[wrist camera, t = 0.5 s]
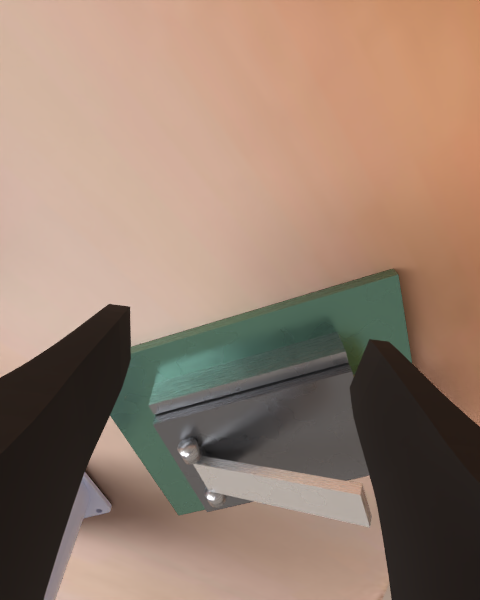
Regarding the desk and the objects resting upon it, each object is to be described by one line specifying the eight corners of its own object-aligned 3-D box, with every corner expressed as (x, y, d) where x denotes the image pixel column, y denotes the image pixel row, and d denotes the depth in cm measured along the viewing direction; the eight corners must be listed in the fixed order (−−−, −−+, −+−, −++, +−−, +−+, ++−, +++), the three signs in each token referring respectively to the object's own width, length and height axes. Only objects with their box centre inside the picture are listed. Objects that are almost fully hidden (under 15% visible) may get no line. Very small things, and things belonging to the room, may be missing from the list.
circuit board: (179, 506, 32) (171, 573, 28) (82, 361, 25) (50, 420, 21) (422, 450, 29) (456, 514, 25) (392, 268, 22) (433, 313, 18)
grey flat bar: (213, 482, 25) (208, 491, 25) (197, 455, 24) (192, 463, 24) (371, 516, 20) (370, 527, 20) (362, 483, 19) (360, 494, 19)
